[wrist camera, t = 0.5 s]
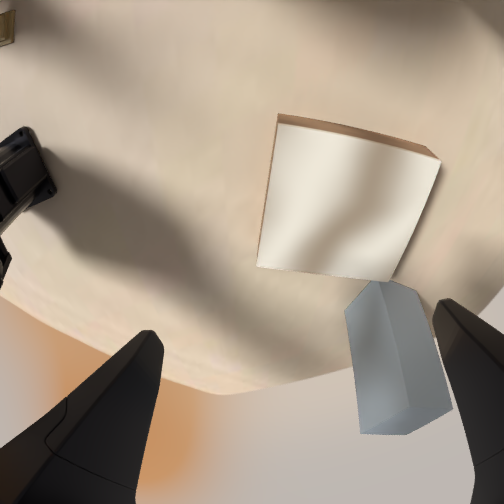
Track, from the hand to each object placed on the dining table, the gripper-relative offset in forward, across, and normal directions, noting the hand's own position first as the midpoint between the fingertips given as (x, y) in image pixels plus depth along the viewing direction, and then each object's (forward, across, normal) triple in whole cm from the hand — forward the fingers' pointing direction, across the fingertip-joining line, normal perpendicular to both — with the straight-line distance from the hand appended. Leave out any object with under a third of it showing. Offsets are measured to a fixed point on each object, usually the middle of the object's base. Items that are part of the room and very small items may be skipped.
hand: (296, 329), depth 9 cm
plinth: (+13, +4, -3) cm, 14 cm away
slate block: (+13, +7, -15) cm, 21 cm away
